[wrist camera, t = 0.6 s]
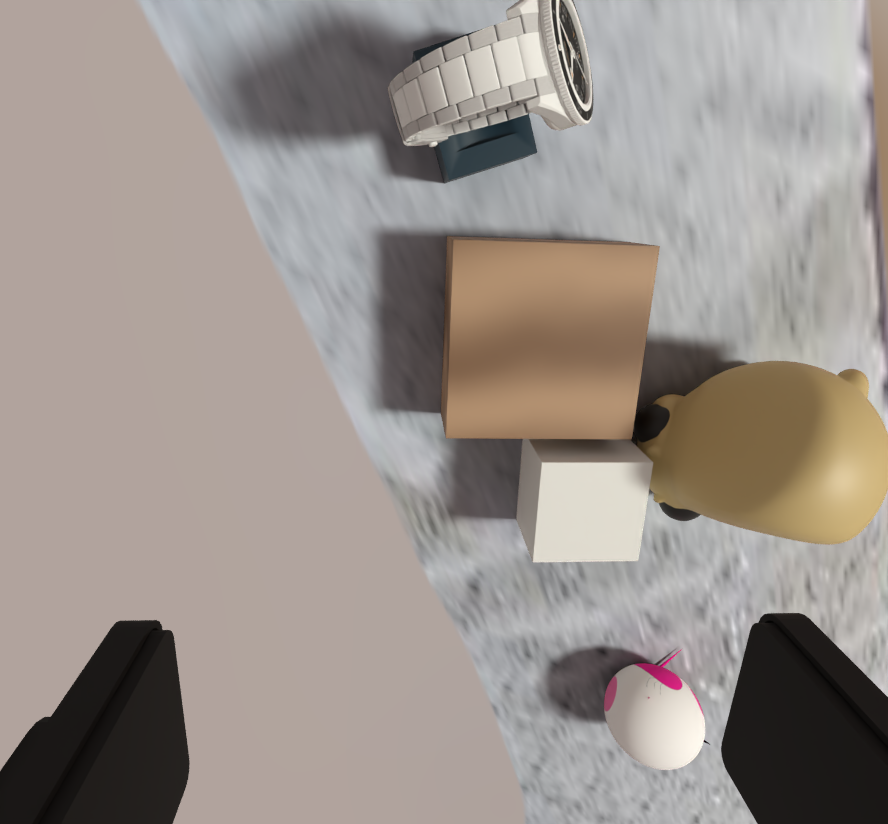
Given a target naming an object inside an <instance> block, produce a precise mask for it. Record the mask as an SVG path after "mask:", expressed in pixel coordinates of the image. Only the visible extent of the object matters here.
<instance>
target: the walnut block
mask: <svg viewBox="0 0 888 824" xmlns="http://www.w3.org/2000/svg"><path fill="white" fill-rule="evenodd" d="M659 248H660V246H654V245H646V244H639V243H631V242H608V241H578V240H548V239H519V238H489V237H459V236H447V254H446V283H445V311H444V340H443V368H442V397H441V416H442V421H443V426H444V431H445V436H446V438H490V439H632V434H633V428H634V421H635V414H636V407H637V400H638V393H639V386H640V379H641V372H642V365H643V358H644V351H645V345H646V338H647V331H648V324H649V317H650V310H651V303H652V296H653V289H654V282H655V275H656V268H657V262H658V255H659Z"/></svg>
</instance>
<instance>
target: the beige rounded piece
mask: <svg viewBox="0 0 888 824" xmlns="http://www.w3.org/2000/svg"><path fill="white" fill-rule="evenodd" d="M868 390H869V383H868V379H867V377H866V376H865V374H864V373H862V372H861V371H858V370H855V369H847V370H844V371H842V372H840V373H839V374H838V375H835V374H833V373H831V372H829V371H826V370H824V369H821V368H818V367H815V366H811V365H807V364H803V363H797V362H789V361H766V362H757V363H751V364H746V365H742V366H738V367H735V368H732V369H729V370H726V371H724V372H721V373H719V374H717V375H715V376H713V377H712V378H710V379H708V380H707V381H705V382H704V383H702V384H701V385H700V386H699V387H697V388H696V389H694V390H693V391H692V392H690V393H689V394H687V395H686V396H685V397H684V396H681V395H675V394H669V395H665V396H662V397H660V398H658V399H657V400H656V401H655V402H654V403H653V404H652V405H649V406H646V407H644V408H643V409H641V410H640V411H639V412H638V414H637V415H636V417H635V421H634V432H635V435H636V437H637V447H638V448H639V449H640V450H641V451H642V452H643V453H644V454H645V455H646V456H647V457H648V458H649V459H650V460H651V461H652V462H653V468H652V474H651V481H650V487H649V488H650V490H651V491H652V492H653V493H654V501H655V502H657V503H659V505H660V507H661V509H662V510H663V512H664V513H665V514H666V515H668V516H669V517H671V518H673V519H676V520H679V521H688V520H692V519H695V518H697V517H698V516H700V515H703V516H706V517H709V518H711V519H714V520H717V521H720V522H723V523H727V524H730V525H733V526H737V527H740V528H744V529H748V530H752V531H756V532H760V533H764V534H769V535H773V536H777V537H782V538H787V539H791V540H796V541H802V542H808V543H815V544H839V543H843V542H846V541H848V540H850V539H852V538H854V537H855V536H856V535H858V534H859V533H860V532H861V531H862V530H863V529H864V528H865V527H866V526H867V525H868V524H869V523H870V521H871V520H872V519H873V517H874V516H875V515H876V513H877V512H878V510H879V508H880V506H881V504H882V502H883V500H884V498H885V496H886V493H887V490H888V434H887V431H886V428H885V426H884V424H883V421H882V419H881V418H880V416H879V414H878V413H877V411H876V409H875V408H874V407H873V405H872V404H871V403H870V402H869V400H868V399H867V397H868Z"/></svg>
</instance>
